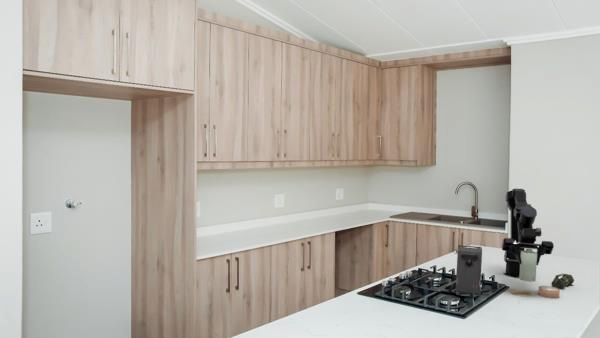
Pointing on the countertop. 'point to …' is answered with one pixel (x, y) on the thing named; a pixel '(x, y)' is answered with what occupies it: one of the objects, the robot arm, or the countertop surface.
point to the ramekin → (549, 292)
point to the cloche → (528, 265)
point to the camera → (468, 270)
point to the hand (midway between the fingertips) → (529, 263)
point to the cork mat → (521, 293)
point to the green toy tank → (562, 281)
